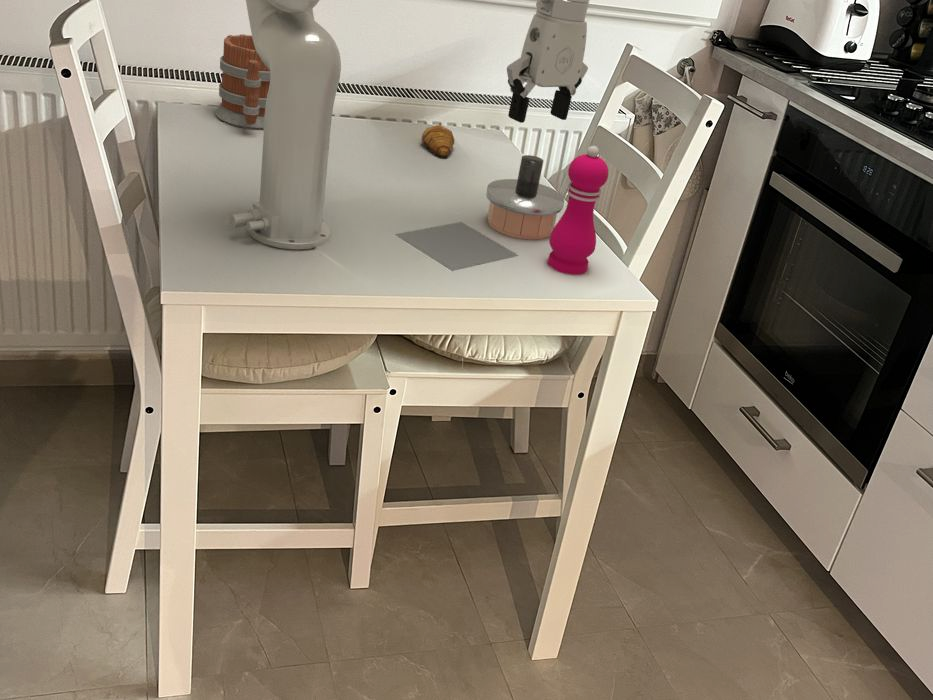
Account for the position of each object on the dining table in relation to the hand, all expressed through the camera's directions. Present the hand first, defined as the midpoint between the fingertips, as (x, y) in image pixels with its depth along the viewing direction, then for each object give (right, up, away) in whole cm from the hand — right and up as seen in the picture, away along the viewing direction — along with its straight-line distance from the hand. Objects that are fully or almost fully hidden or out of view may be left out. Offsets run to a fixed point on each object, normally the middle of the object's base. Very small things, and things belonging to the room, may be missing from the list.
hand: (537, 118), depth 160 cm
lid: (-2, -12, +7) cm, 14 cm away
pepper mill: (+4, -24, -2) cm, 25 cm away
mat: (-13, -21, -2) cm, 25 cm away
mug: (-53, +7, +36) cm, 65 cm away
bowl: (-2, -16, +9) cm, 19 cm away
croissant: (-17, +3, +40) cm, 44 cm away
